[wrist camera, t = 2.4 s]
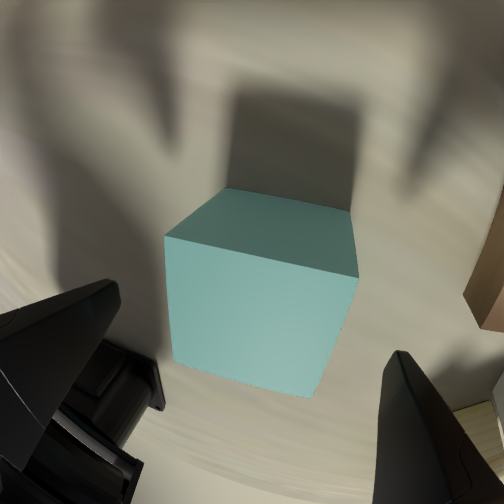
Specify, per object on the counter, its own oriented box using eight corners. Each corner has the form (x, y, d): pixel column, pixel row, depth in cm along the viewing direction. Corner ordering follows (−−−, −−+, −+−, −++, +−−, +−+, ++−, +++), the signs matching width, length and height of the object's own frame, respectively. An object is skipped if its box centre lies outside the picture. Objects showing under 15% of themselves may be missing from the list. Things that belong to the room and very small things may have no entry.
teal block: (322, 311, 13) (310, 398, 9) (219, 288, 14) (173, 361, 10) (349, 211, 11) (358, 278, 7) (226, 187, 12) (163, 235, 8)
